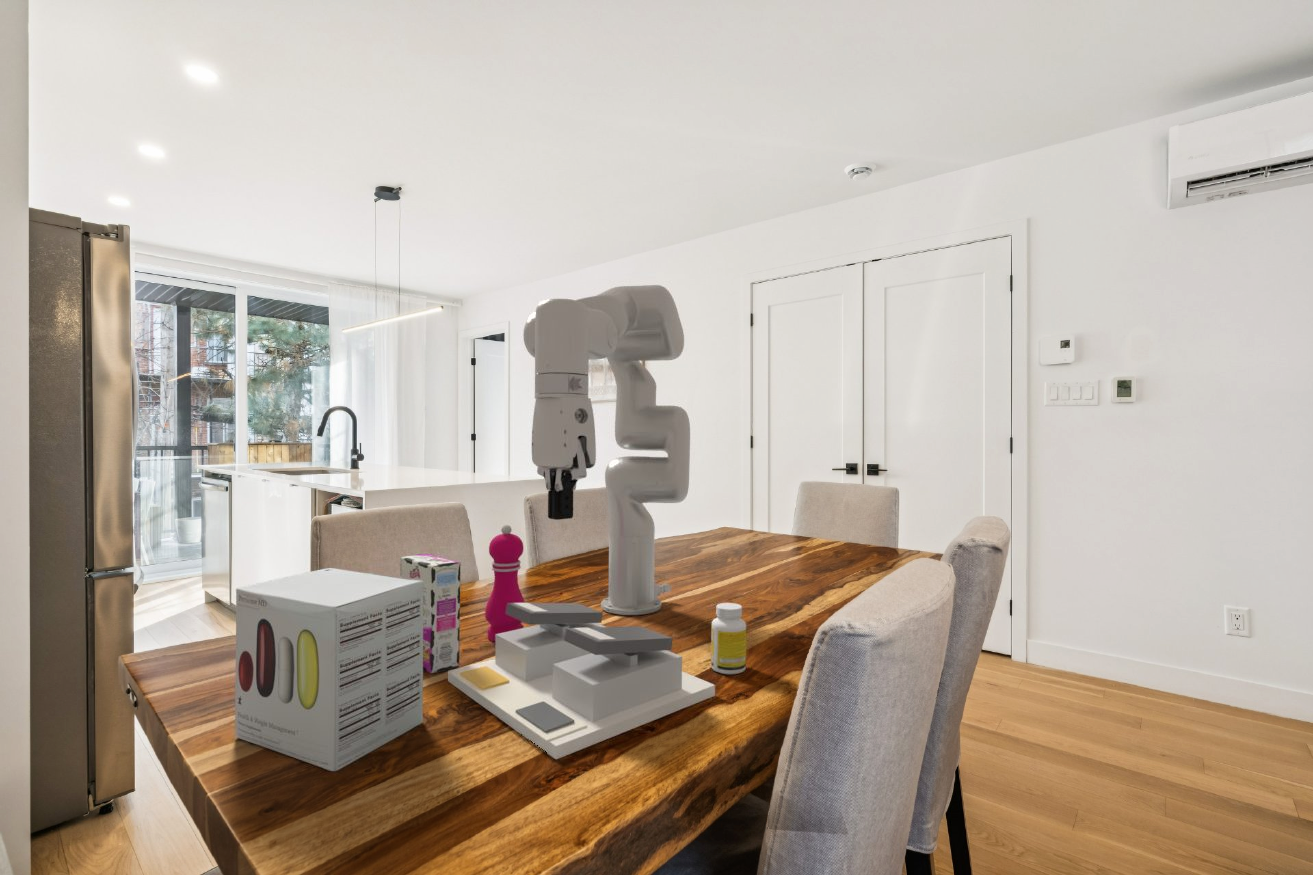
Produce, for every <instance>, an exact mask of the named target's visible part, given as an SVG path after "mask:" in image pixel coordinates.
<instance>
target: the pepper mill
mask: <svg viewBox="0 0 1313 875" xmlns="http://www.w3.org/2000/svg"><path fill="white" fill-rule="evenodd" d="M500 531H501V533H500V534H498V535H496V536H494V537H493V538H492V539H491V541H490V543H489V546H488V553H489V555H490V557H491V558H492V559H493V561H492V562H491V565H492V566H491V570H492V571H493V576H494V579H493V580H494V582H493V588H492V591H491V593H490V596H489V598H488V600H487V602H486V606H485V609H484V610H485V611H484V617H485V620H486V621H487V623H488V624H489V626H488V628H487V639H488V640H489V641H491V642H493V643H495V634H499V633H504V632H508V631H512V630H517V629H521V628H525V625H523V624H522V621H520V620H518V619H516V618H514V617H511V616H509V615H507V614H505V613H506V607H507V603H526V601H525V599H524V597H523V595H522V592H521V588H520V586H519V580H518V579H519V578H518V574H519V570H520V569H521V560H519V559H520V557H521V556H522V555H523V553H524V543H523V540H522V539H521V538H520V537H519V535H517V534H514V533H512V527H511V526H510V525H508V524H505V525H503V526H502V527H501V530H500Z"/></svg>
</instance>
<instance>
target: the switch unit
mask: <svg viewBox="0 0 1313 875" xmlns="http://www.w3.org/2000/svg"><path fill="white" fill-rule="evenodd" d="M593 627H607V626H605V625H603V624H602V623H575V624H536V625H531V626H526V627H524V628H521V629H517V630H512V631H508V632H504V633H499V634H495V642H494V643H495V644H494V645H495V652H494V653H495V658H493V659H490V660H489V659H488V660H486V661H482V662H477V663H473V664H469V665H466V666H462V667H457V668H455V669H454V668H453V669H449V670H447V681H448V682H449V683H450V684H451V685H453V686H454V687H456V688H457V689H458V690H460V691H461V692H462V693H463V694H465V695H467V697H469V698H470V699H472V700H473V701H475V702H476V703H478V705H480V706H481V707H483V708H485V710H487V711H489V712H490V713H491V714H493V715H494V716H495V717H497V718H498V719H499V720H500V721H502V722H504V723H505V724H506V725H507V726H509V727H510V728H512V729H513V730H514V731H516V732H517V733H519V734H520V735H521V734H522V735H521V736H523V737H524V738H525V739H527V740H528V739H529V740H528V741H530V740H531V741H532V742H534V743H535V744H534V743H533V744H534V745H535V746H537V745H538V746H537V747H538V748H539V747H540V748H539V749H541V748H542V749H543V750H545V751H546V752H547V755H548V756H550V757H551V758H553V759H555V760H559V759H561V758H563V757H566V756H567V755H571V754H573V753H576V752H578V751H581V750H583V749H587V748H588V747H590V746H593V745H596V744H598V743H600V742H603V741H605V740H607V739H611V738H612V737H613V738H614V737H615V736H618V735H620V734H622V733H625V732H629V731H631V730H632V729H637V728H638V727H640V726H643V725H645V724H648V723H651V722H653V721H655V720H659V719H661V718H663V717H666V716H668V715H670V714H673V713H675V712H678V711H680V710H682V709H685V708H688V707H690V706H693V705H695V704H697V703H701V702H703V701H705V700H707V699H710V698H713V697H715V696H716V685H715V684H713V683H712V682H709V681H706V680H704V679H701V678H700V677H697V676H694V675H693V674H689V673H688V672H684V671H683V656H682V655H680V654H677V653H674V652H672V651H671V650H663V651H649V652H634V653H619V654H605V655H594V654H592V653H590V652H588V651H586V650H583V649H581V648H579V647H577V646H575V645H573V644H570V643H568V642H566V641H564V639H565V632H566V628H593ZM531 741H530V742H531ZM532 742H531V743H532ZM542 749H541V750H542ZM543 750H542V751H543ZM545 751H544V752H545ZM546 752H545V753H546Z"/></svg>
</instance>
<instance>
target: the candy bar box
mask: <svg viewBox="0 0 1313 875" xmlns="http://www.w3.org/2000/svg"><path fill="white" fill-rule="evenodd" d="M399 577H400V578H407V579H413V580H421V581H423V583H424V584H423V671H426V672H427V673H430V674H431V675H432V674H436V673H440V672H444V671H449V670H453V669H454V668H455V669H456V668H459V666H460V633H461V631H460V628H461V627H460V626H461V624H460V622H461V620H460V618H461V614H460V612H461V562H460V561H456V560H453V559H449V558H445V557H442V556H438V555H435V554H429V553H420V554H411V555H406V556H401V557H400V576H399Z"/></svg>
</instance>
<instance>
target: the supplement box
mask: <svg viewBox="0 0 1313 875" xmlns="http://www.w3.org/2000/svg"><path fill="white" fill-rule="evenodd" d="M400 577H401V576H391V575H384V574H380V573H379V574H378V573H371V572H362V571H355V570H349V569H343V568H342V569H341V568H333V567H328V568H321V569H318V570H313V571H308V572H303V573H297V574H294V575H289V576H284V577H280V578H276V579H275V578H274V579H272V580H271V579H270V580H267V581H262V582H259V583H254V584H248V585H246V586H245V585H244V586H241V587H237V588H236V589H235V592H236V593H235V599H236V600H235V601H236V602H235V681H234V682H235V687H234V688H235V690H234V692H235V696H234V698H235V699H234V703H235V704H234V705H235V706H234V715H235V716H234V717H235V719H234V720H235V722H234V723H235V724H234V737H235V739H240V740H243V741H246V742H249V743H252V744H253V745H257V746H260V747H263V748H266V749H269V750H271V751H274V752H277V753H280V754H283V755H286V756H288V757H292V758H294V759H297V760H300V761H301V762H305V763H309V764H311V765H313V766H317V767H319V768H322V769H324V770H326V771H329V772H336V771H339V770H341V769H342V768H344V767H346V766H348V765H350V764H351V763H353V762H355V761H357V760H359V759H360V758H362V757H364V756H366V755H367V754H369V753H371V752H373V751H375V750H377V749H379V748H381V747H382V746H384V745H386V744H387V743H389V742H391V741H393V740H394V739H396V738H398V737H400V736H402V735H403V734H405V733H407V732H409V731H410V730H413V729H414V728H416V727H417V726H419V725H421V724H423V723H424V719H423V718H424V714H423V711H424V705H423V704H424V703H423V702H424V698H423V697H424V691H423V690H424V669H423V584H424V583H423V581H421V580H413V579H407V578H400Z"/></svg>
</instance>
